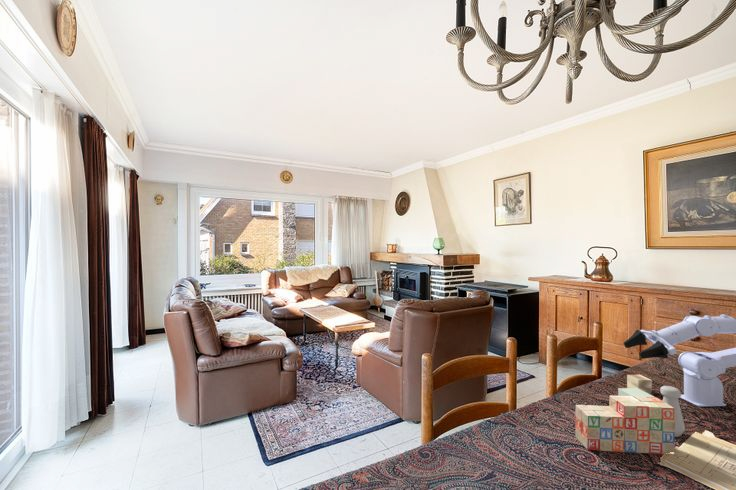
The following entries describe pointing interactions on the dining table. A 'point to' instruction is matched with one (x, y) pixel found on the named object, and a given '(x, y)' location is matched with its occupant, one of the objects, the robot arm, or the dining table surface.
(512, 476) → the dining table surface
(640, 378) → the maple cube
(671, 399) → the salt shaker
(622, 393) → the base block
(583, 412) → the stack of blocks
